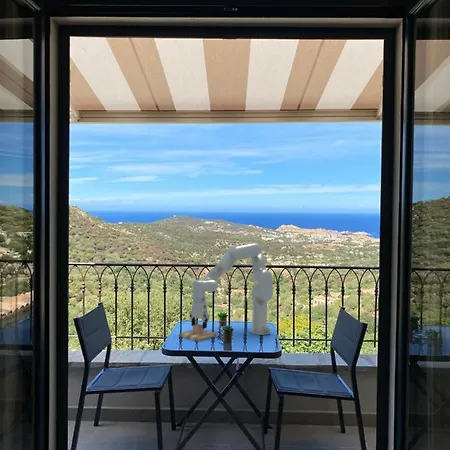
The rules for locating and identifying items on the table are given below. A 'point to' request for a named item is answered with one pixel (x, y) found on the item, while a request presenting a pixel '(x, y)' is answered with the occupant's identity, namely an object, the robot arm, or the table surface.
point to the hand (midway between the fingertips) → (199, 326)
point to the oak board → (198, 337)
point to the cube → (198, 329)
